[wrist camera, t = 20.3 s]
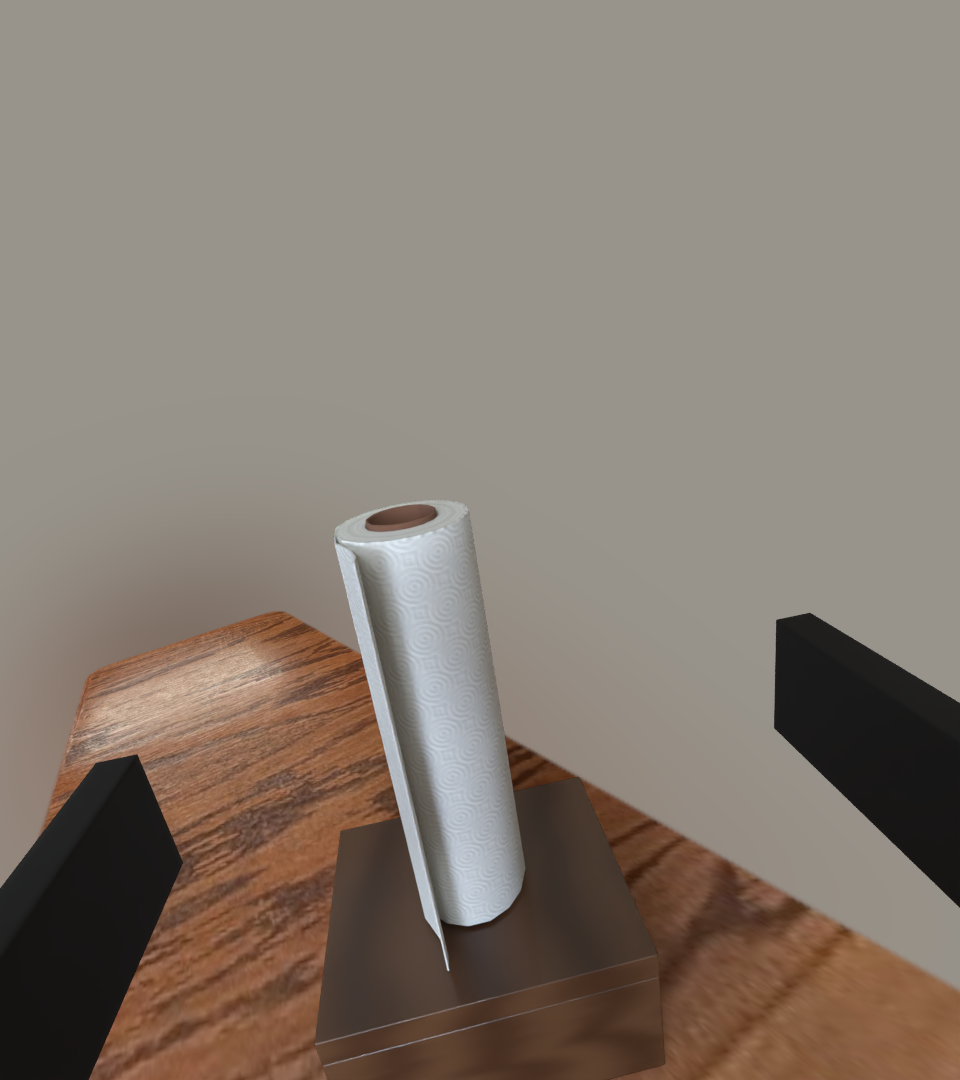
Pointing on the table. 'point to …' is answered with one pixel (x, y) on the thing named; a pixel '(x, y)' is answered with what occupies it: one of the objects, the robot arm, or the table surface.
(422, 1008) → the drawer box
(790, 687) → the robot arm
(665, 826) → the table surface
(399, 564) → the paper towel roll
